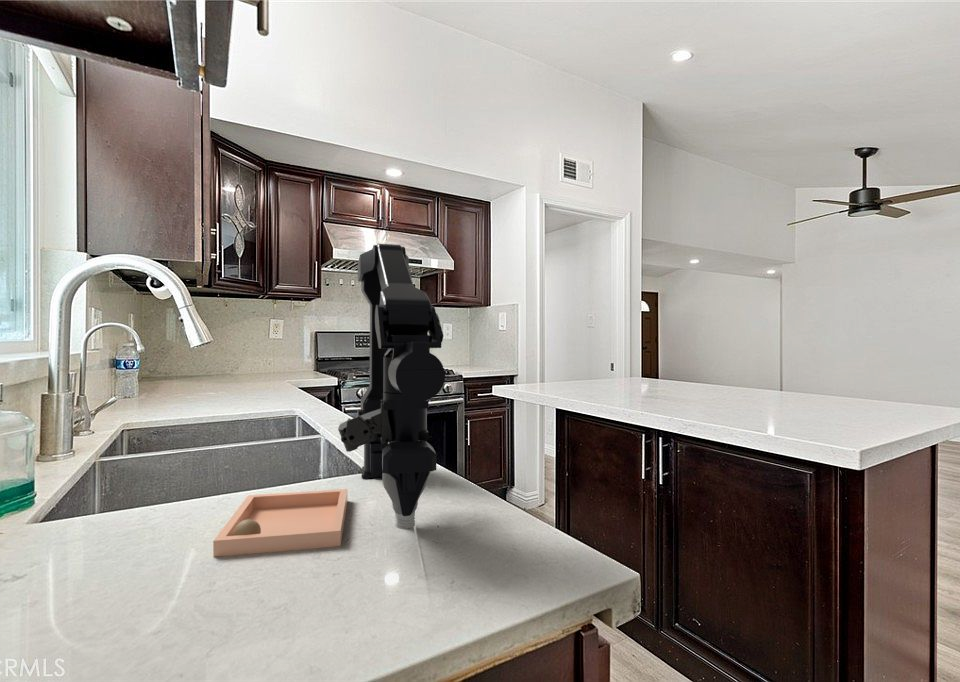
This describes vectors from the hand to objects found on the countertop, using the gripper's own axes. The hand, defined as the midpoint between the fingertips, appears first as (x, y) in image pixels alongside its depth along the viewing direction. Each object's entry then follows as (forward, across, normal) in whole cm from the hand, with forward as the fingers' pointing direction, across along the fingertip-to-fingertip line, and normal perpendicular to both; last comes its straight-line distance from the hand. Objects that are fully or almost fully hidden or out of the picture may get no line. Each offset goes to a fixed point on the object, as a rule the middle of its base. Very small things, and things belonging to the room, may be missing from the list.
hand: (405, 507), depth 65 cm
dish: (+3, -3, -15) cm, 16 cm away
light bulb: (+3, 0, 0) cm, 3 cm away
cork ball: (+2, +2, -19) cm, 19 cm away
